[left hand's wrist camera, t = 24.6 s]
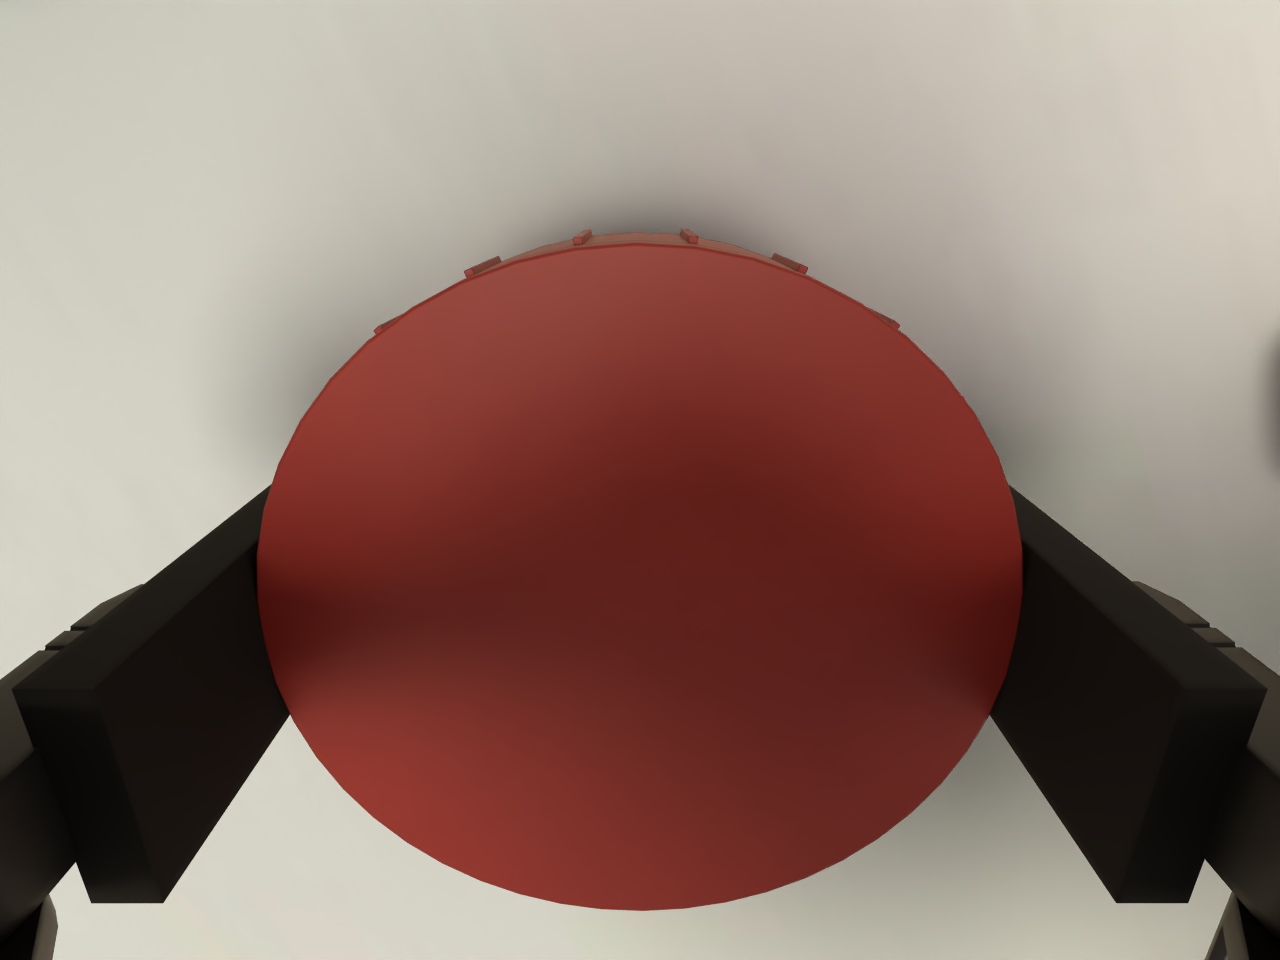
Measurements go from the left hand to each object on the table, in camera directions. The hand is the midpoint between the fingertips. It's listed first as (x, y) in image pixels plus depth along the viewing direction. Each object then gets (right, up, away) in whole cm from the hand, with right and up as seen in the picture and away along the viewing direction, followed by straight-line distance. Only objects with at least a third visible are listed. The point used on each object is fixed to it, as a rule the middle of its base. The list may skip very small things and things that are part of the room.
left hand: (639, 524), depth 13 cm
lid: (0, -1, -3) cm, 3 cm away
